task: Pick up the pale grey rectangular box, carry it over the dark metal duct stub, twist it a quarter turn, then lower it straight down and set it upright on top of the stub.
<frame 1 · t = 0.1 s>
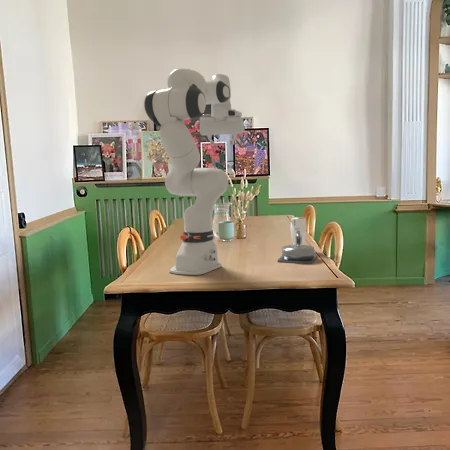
hand: (222, 145, 217), 48 cm above the table, fingers open, 8 cm apart
duct stub: (298, 259, 202), on the table
pale grey rectangular box: (298, 251, 218), on the table
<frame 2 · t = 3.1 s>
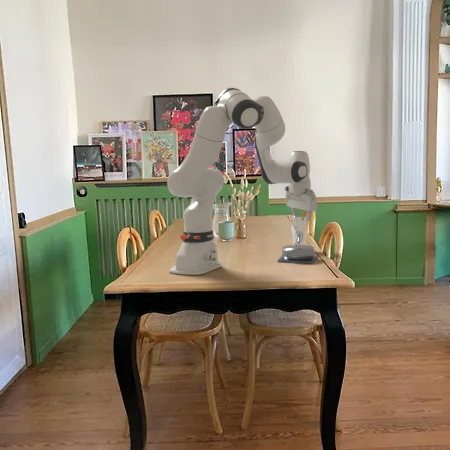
hand: (301, 218, 216), 14 cm above the table, fingers open, 8 cm apart
pale grey rectangular box: (298, 250, 218), on the table, touching gripper
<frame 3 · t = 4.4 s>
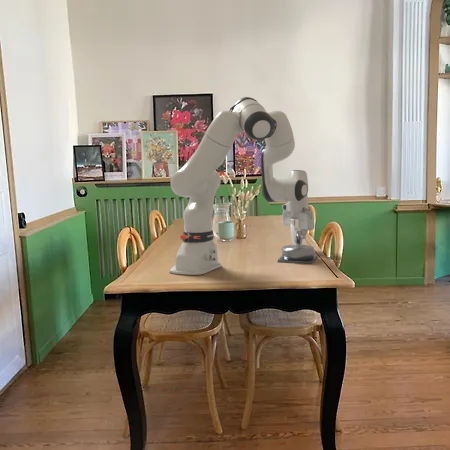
hand: (298, 237, 217), 6 cm above the table, fingers closed on pale grey rectangular box, 6 cm apart
pale grey rectangular box: (298, 251, 218), on the table, touching gripper
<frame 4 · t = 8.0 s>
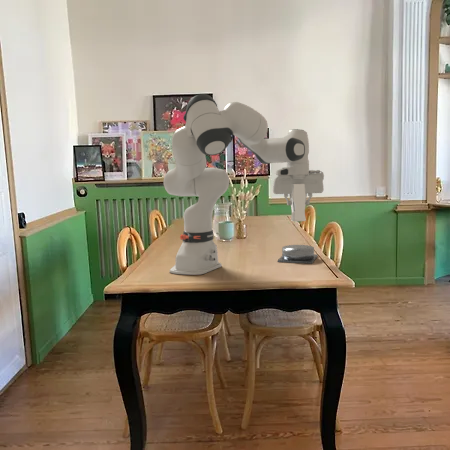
hand: (298, 204, 197), 23 cm above the table, fingers closed on pale grey rectangular box, 6 cm apart
pale grey rectangular box: (298, 221, 198), point 16 cm above the table, touching gripper
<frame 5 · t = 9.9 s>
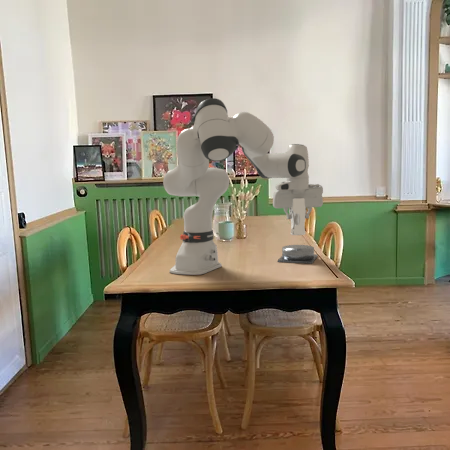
hand: (297, 218, 199), 17 cm above the table, fingers closed on pale grey rectangular box, 6 cm apart
pale grey rectangular box: (297, 234, 200), point 10 cm above the table, touching gripper
when the fingers open (12 cm above the table, at t = 11.6 s): pale grey rectangular box drops 1 cm, resting on duct stub.
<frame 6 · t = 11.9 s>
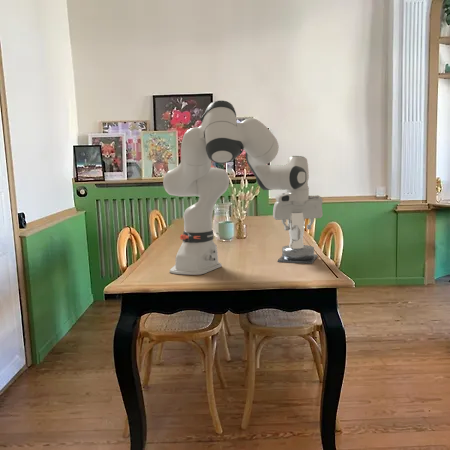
hand: (297, 229, 200), 12 cm above the table, fingers open, 8 cm apart
pale grey rectangular box: (296, 248, 201), point 5 cm above the table, touching duct stub
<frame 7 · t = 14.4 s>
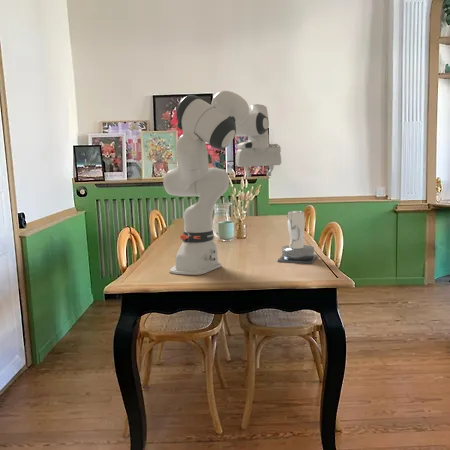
hand: (258, 176, 209), 34 cm above the table, fingers open, 8 cm apart
nothing on the table moved.
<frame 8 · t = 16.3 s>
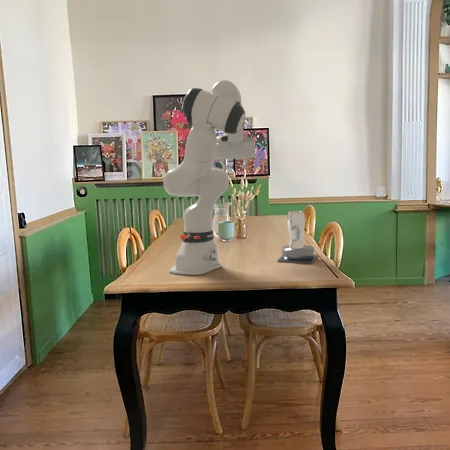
hand: (234, 169, 218), 37 cm above the table, fingers open, 8 cm apart
nothing on the table moved.
at the end: pale grey rectangular box 0.7 cm from the duct stub (horizontally); pale grey rectangular box point 4.6 cm above the table; pale grey rectangular box tilted 0° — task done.
